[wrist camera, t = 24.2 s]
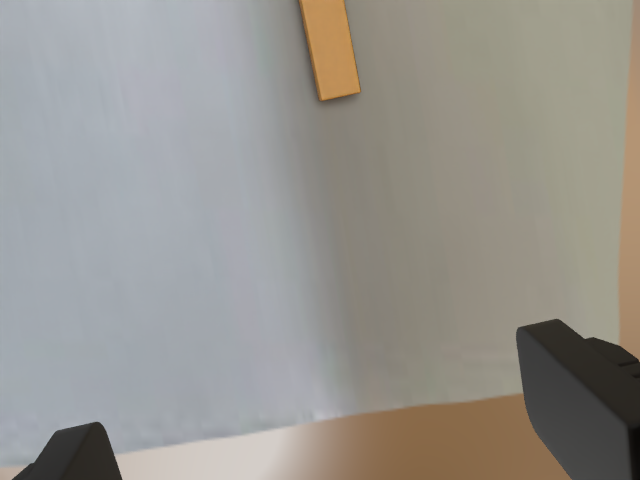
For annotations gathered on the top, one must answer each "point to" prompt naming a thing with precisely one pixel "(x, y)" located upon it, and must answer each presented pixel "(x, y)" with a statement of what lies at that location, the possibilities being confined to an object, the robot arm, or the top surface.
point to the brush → (330, 48)
